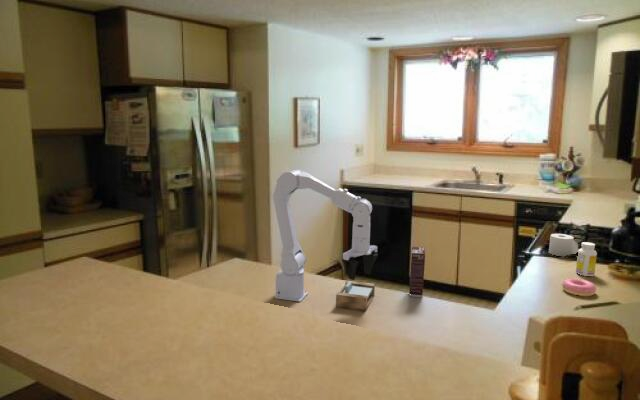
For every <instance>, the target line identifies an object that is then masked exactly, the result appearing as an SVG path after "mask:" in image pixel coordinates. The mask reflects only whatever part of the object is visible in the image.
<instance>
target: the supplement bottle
mask: <svg viewBox="0 0 640 400" xmlns="http://www.w3.org/2000/svg"><path fill="white" fill-rule="evenodd" d="M595 247H596V244H595V243H593V242H587V241H586V242H585V241H584V242H583V241H582V242H581V248H578V256H576V258H577V259H576V265H575V266H576V268H575V273H576V274H577V273H578V274H580V275H579V276H581V275H584V276H583V277H586V276H592V277H594V276H595V274H596V273H595V272H596V265H597V255H598V253H597V251H596V249H595ZM578 274H577V275H578ZM593 275H594V276H593Z"/></svg>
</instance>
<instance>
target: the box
mask: <svg viewBox="0 0 640 400" xmlns="http://www.w3.org/2000/svg"><path fill="white" fill-rule="evenodd" d="M349 281H351V282H352V284H353V285H361V286H369V287H373V290H372V292H371V293H370V295H369V297H368V296H363V295H356V294H348V293H343V291H344V290H345V286H346V284H347V283H348V282H349ZM375 287H376V284H375V283H371V282H363V281H356V280H346V281H345V284H344V286H343V287H342V288H341V289H340V291H338V292H337V293H336V294H335V296H336V297H335V308H338V309H345V310H351V311H360V312H365V313H366V311H367V310H368V308H369V306H370V304H371V303H372V301H373V300H374V297H375V289H376V288H375ZM367 297H368V299H367Z"/></svg>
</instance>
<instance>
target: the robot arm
mask: <svg viewBox="0 0 640 400" xmlns="http://www.w3.org/2000/svg"><path fill="white" fill-rule="evenodd" d="M305 189H310V190H312V191H313V192H316V193H318V194H320V195H322V196H325V197H326V198H329V199H330V200H331V203H332V205H334V206H336V207H338V208H340V209H341V210H344V211H346V212H348V213H350V214H351V215H352V217H353V218H352V220H353V222H352V233H351V235H352V236H351V237H352V239H351V248H350V249H349V250H347V251H345V252H343V253H342V258H341V260H342V262H343V263H344V264H343V265H344V266H345V268H346V272H347V276H348V279H349V280H350V281H356V280H355V279H356V272H357V267H358V264H359V262H360V261H358V260H356V259H355V258H357V257H361V256H362V259H363V273H364V274H365V275H371V274H372V273H371V272H372V271H373V266H374V264H375V262H376V260H377V259H378V257H379V254H378V246H377V245H374V244H373V245H372V244H370V243H371V242H370V241H371V213H372V211H373V204H372V202H370V201H369V200H368V199H367V198H362V197H361V196H359V195H358V196H356V195H355V194H353V193H350V192H349V189H347V188H344V189H343V188H337V189H335V188H333V187H332V186H330V185H328V184H326V182H323V181H322V180H320V179H318V178H316V177H315V176H313V175H312V174H310V173H308V172H306V171H303V170H302V169H300V168H294V169H291V170H288V171H285V172H283V173H281V175H280V176H279V177H278V178H277V180H276V185H275V188H274V191H273V194H272V198H273V203H274V209H275V215H276V219H277V223H278V229H279V234H280V238H281V239H280V240H281V243H282V244H281V245H282V249H281V254H280V256H281V261H280V269H281V270H279V271H277V272H276V276H275V296H274V299H278V300H285V301H291V302H293V301H294V302H302V301H303V299H304V298H305V297H306V296H307V295H308V293H309V292H308V291H305V269H304V267H303V266H304V265H305V264H306V262H307V258H306V257H307V256H306V254H305V253H304V252H303V249H302V246H301V245H300V243H299V241H298V237H297V231H296V226H295V221H294V216H293V212H292V211H293V210H292V206H291V200H290V198H291V197H292V195H293V194H294V193H295V191H297V190H305Z"/></svg>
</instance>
